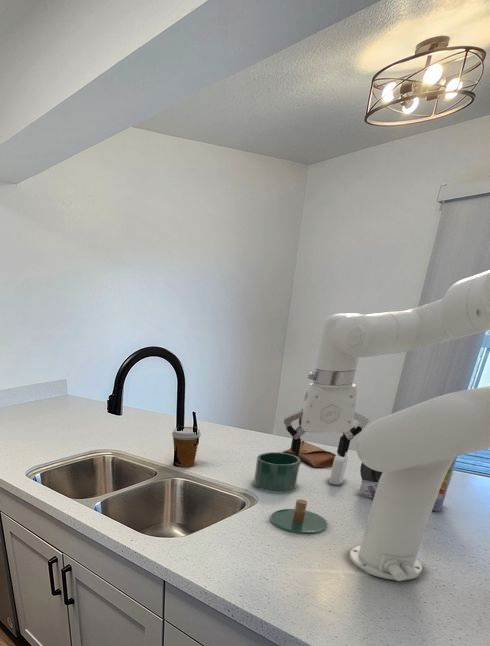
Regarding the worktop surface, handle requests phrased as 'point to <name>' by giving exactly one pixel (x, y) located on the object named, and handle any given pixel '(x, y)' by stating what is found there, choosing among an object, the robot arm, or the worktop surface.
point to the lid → (299, 519)
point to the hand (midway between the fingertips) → (317, 454)
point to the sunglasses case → (314, 455)
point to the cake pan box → (372, 476)
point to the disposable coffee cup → (185, 445)
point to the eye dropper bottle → (338, 469)
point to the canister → (276, 471)
